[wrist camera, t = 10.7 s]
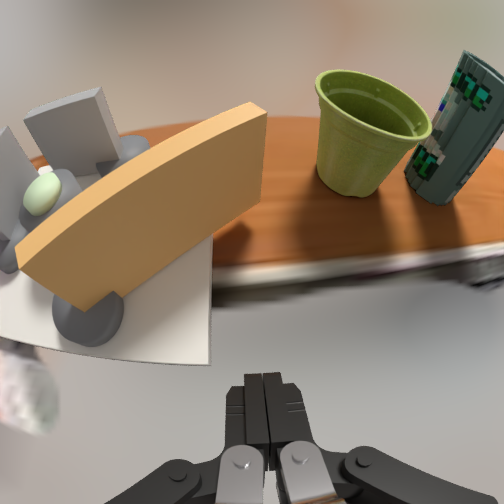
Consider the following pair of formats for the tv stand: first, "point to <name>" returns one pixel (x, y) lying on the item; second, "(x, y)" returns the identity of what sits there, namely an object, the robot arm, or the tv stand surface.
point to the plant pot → (364, 130)
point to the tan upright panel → (144, 220)
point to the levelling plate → (145, 311)
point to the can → (459, 131)
